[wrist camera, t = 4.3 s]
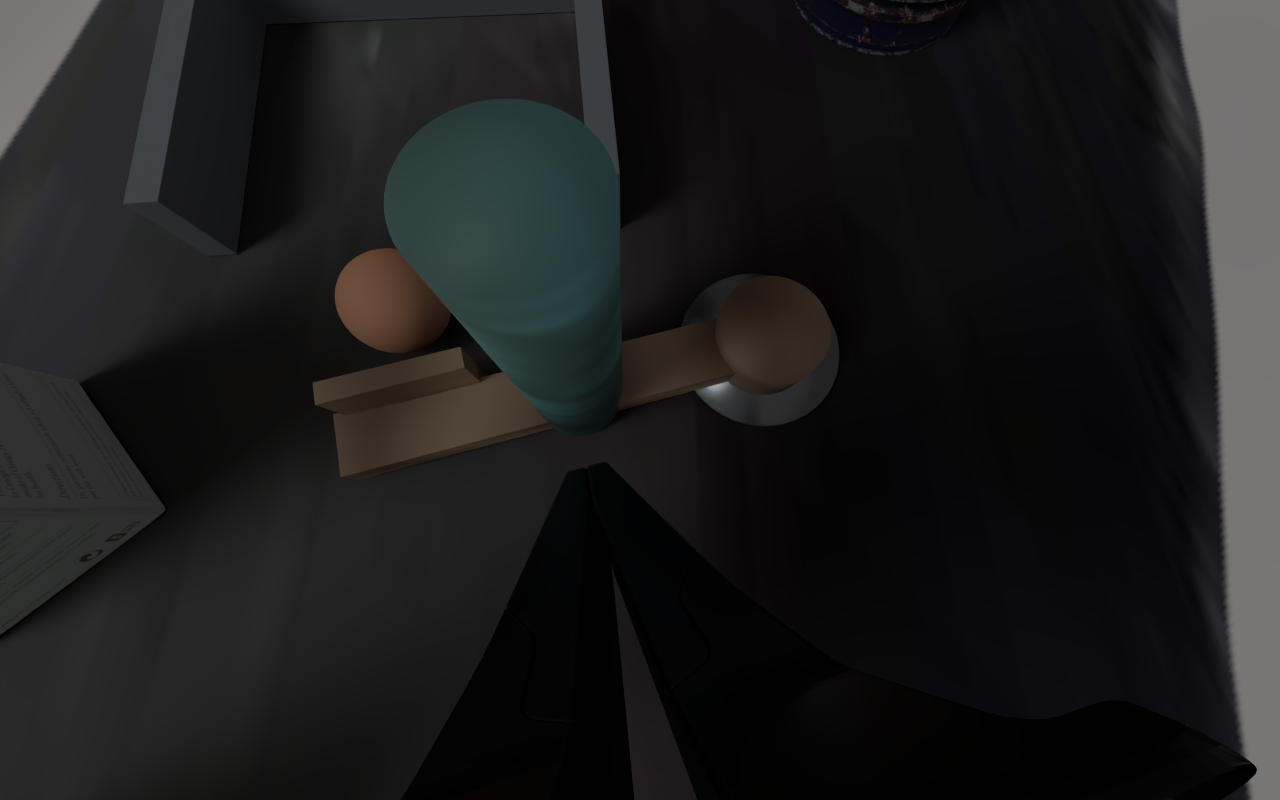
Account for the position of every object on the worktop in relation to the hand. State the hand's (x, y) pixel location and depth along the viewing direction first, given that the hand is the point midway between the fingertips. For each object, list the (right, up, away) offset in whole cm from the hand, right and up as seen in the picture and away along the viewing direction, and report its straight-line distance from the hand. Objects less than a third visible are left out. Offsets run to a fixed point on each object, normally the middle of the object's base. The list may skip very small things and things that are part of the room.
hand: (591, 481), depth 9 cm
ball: (-9, +6, +8) cm, 13 cm away
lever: (-1, +2, +9) cm, 10 cm away
